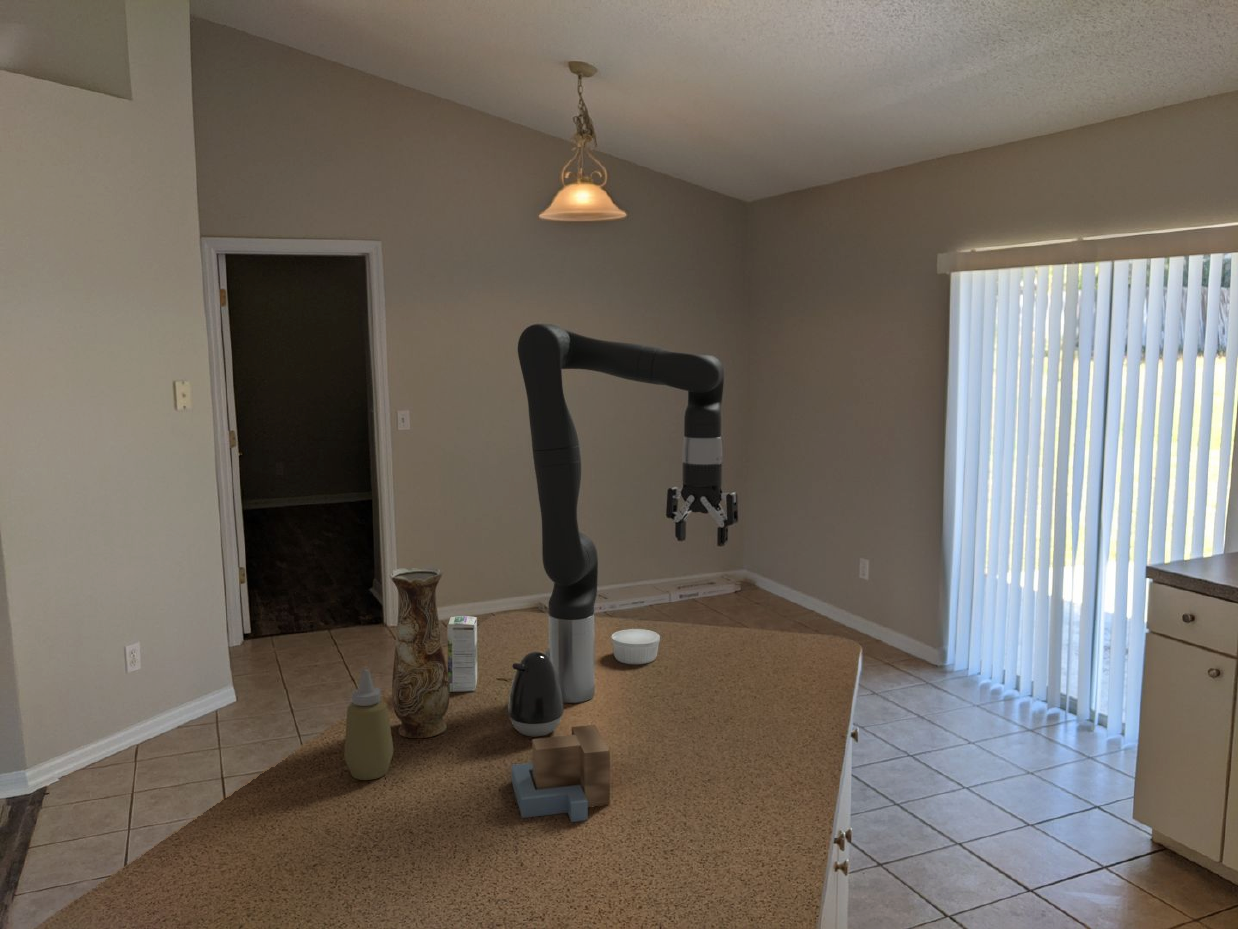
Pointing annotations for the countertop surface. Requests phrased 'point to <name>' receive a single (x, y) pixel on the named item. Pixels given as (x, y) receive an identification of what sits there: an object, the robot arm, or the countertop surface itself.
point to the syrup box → (462, 653)
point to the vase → (419, 655)
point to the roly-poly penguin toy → (535, 696)
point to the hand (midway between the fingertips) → (701, 543)
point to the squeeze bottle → (368, 732)
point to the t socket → (546, 796)
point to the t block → (574, 763)
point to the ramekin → (635, 646)
